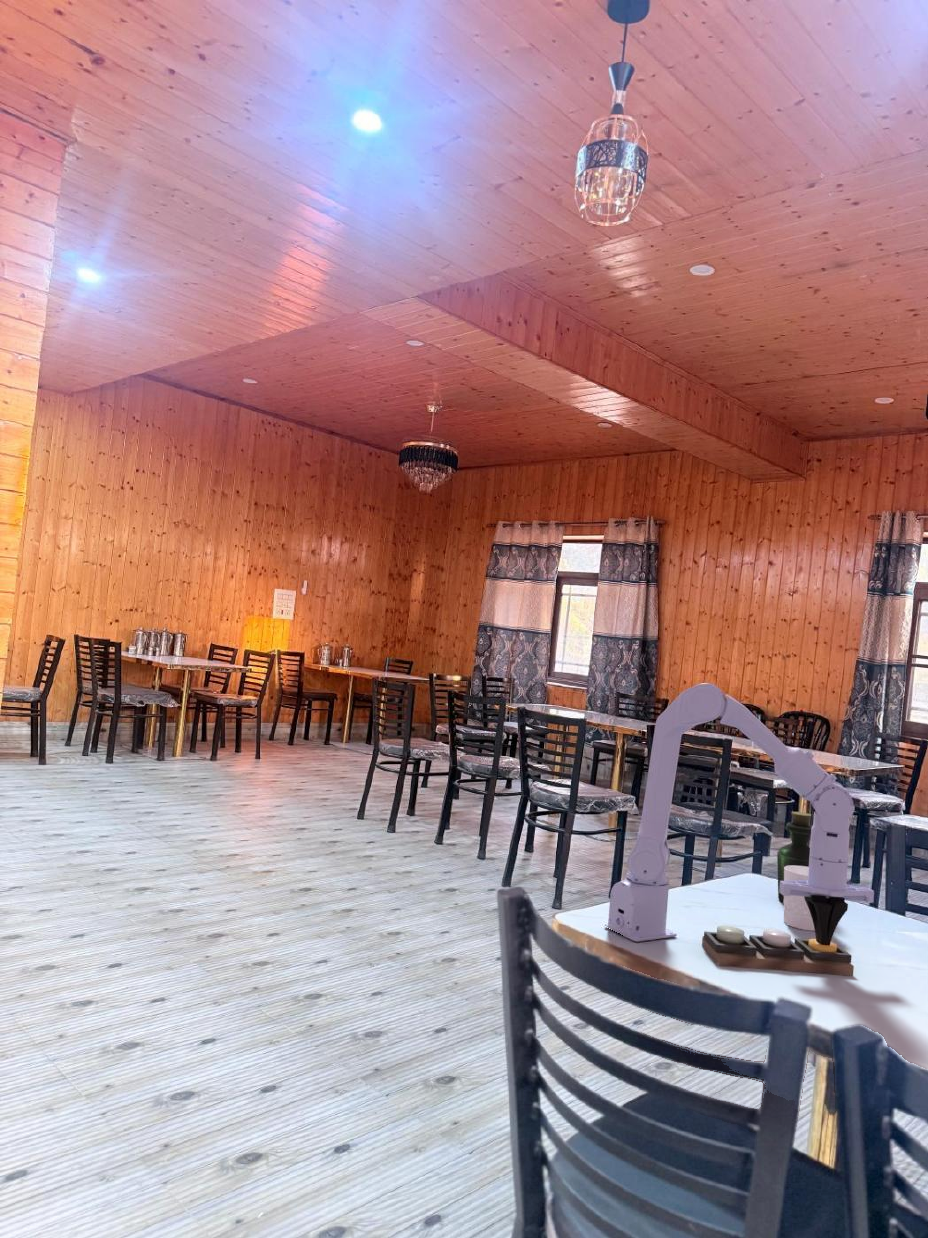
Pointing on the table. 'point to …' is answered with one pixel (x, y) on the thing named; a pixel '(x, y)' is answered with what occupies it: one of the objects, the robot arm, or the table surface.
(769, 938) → the pale pink button
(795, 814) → the potion bottle
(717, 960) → the button panel
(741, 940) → the sage button
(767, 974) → the table surface
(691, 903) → the table surface
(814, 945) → the amber button
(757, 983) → the table surface
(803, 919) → the white cup
